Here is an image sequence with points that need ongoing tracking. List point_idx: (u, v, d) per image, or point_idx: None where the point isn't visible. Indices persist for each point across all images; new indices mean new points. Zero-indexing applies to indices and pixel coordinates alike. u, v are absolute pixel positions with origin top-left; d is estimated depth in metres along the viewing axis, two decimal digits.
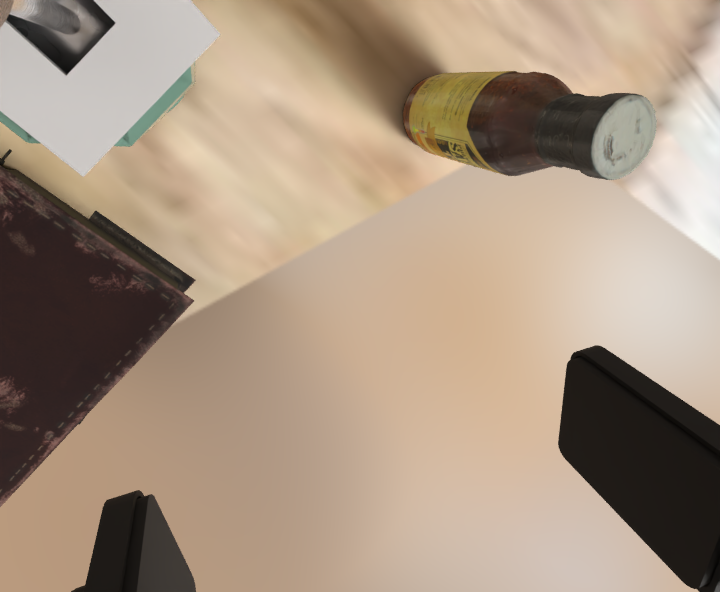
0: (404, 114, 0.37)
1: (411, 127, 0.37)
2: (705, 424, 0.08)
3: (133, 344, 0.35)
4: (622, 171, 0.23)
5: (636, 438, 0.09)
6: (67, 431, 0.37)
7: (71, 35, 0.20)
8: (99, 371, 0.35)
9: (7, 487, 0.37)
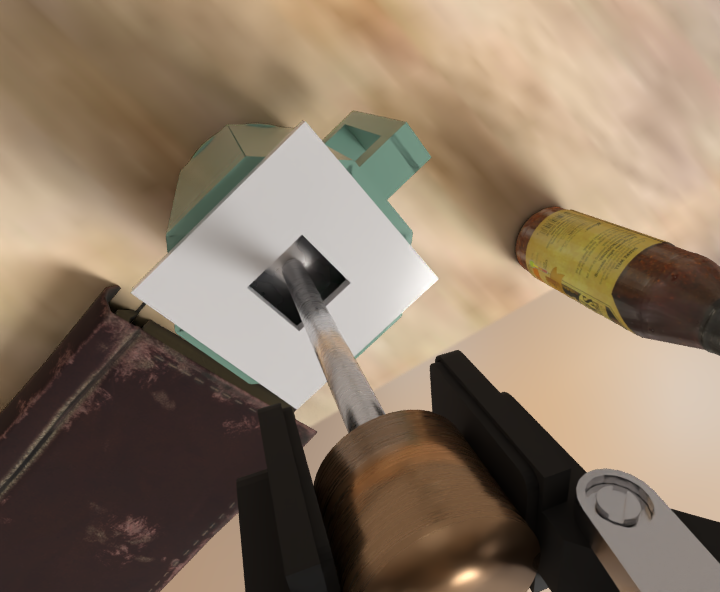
0: (518, 244, 0.38)
1: (528, 260, 0.37)
2: (519, 426, 0.08)
3: None
4: None
5: (473, 439, 0.09)
6: (190, 556, 0.37)
7: None
8: (225, 502, 0.36)
9: None
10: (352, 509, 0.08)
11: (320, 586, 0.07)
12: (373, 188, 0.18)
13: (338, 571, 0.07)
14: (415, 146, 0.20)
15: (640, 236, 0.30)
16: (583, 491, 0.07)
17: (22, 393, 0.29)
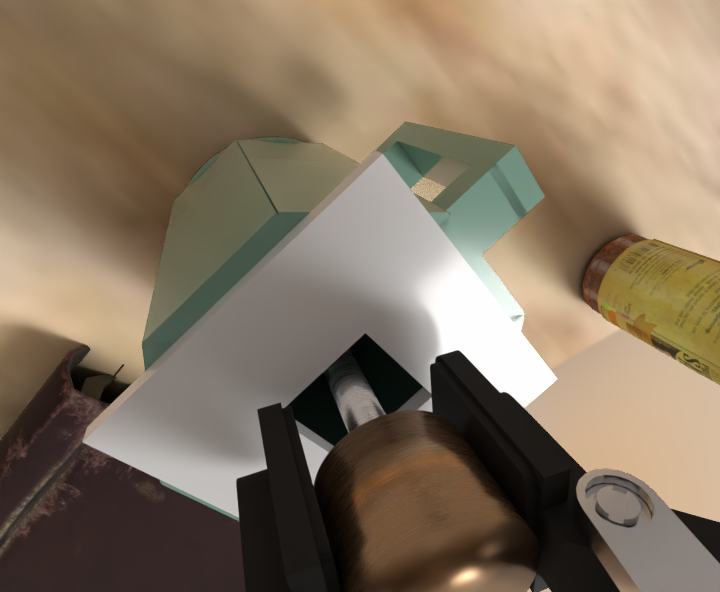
0: (587, 280, 0.31)
1: (601, 301, 0.30)
2: (520, 425, 0.08)
3: None
4: None
5: (473, 438, 0.09)
6: None
7: None
8: None
9: None
10: (352, 509, 0.08)
11: (320, 586, 0.07)
12: (475, 254, 0.11)
13: (338, 571, 0.07)
14: (524, 181, 0.13)
15: None
16: (583, 491, 0.07)
17: None
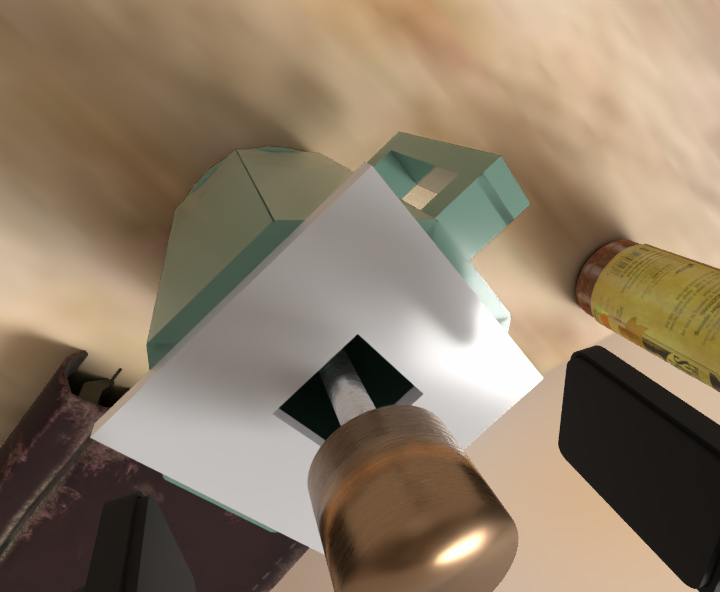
0: (581, 285, 0.32)
1: (594, 305, 0.31)
2: (705, 424, 0.08)
3: (272, 566, 0.29)
4: None
5: (636, 438, 0.09)
6: None
7: None
8: None
9: None
10: (343, 494, 0.08)
11: None
12: (462, 258, 0.12)
13: (329, 553, 0.08)
14: (510, 189, 0.14)
15: None
16: None
17: None
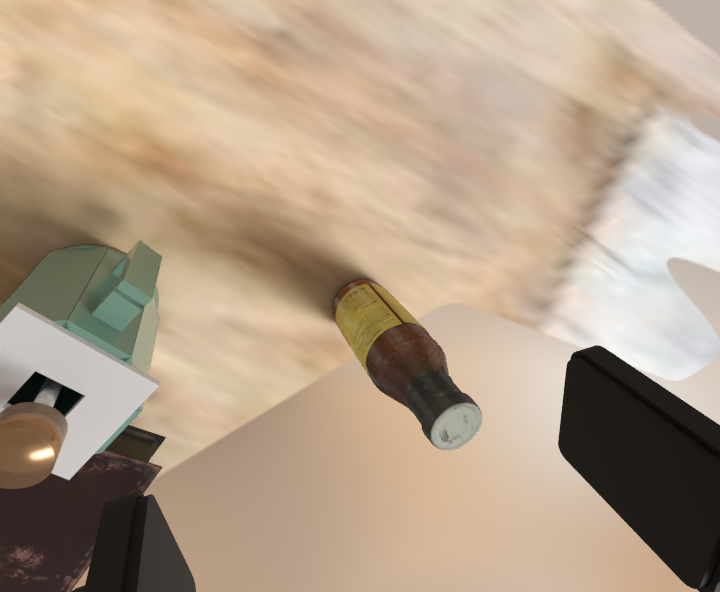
0: (333, 312, 0.46)
1: (338, 326, 0.45)
2: (705, 424, 0.08)
3: None
4: (459, 444, 0.31)
5: (636, 438, 0.09)
6: (82, 572, 0.46)
7: None
8: (97, 529, 0.44)
9: None
10: None
11: None
12: (88, 334, 0.27)
13: None
14: (136, 293, 0.28)
15: (391, 317, 0.38)
16: None
17: None
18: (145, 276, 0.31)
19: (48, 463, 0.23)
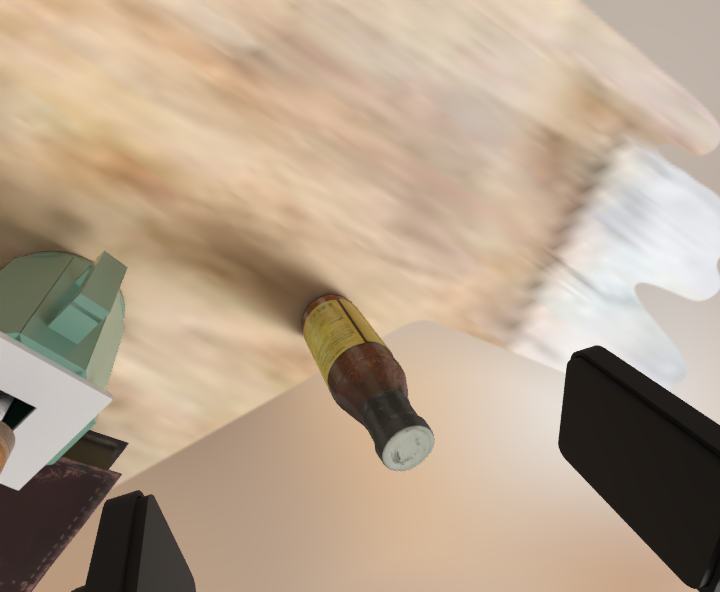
0: None
1: (305, 340, 0.45)
2: (705, 424, 0.08)
3: (78, 512, 0.44)
4: (411, 465, 0.32)
5: (636, 438, 0.09)
6: (39, 578, 0.46)
7: None
8: (55, 535, 0.44)
9: None
10: None
11: None
12: (41, 347, 0.27)
13: None
14: (93, 307, 0.29)
15: (355, 335, 0.39)
16: None
17: None
18: (106, 288, 0.31)
19: None
